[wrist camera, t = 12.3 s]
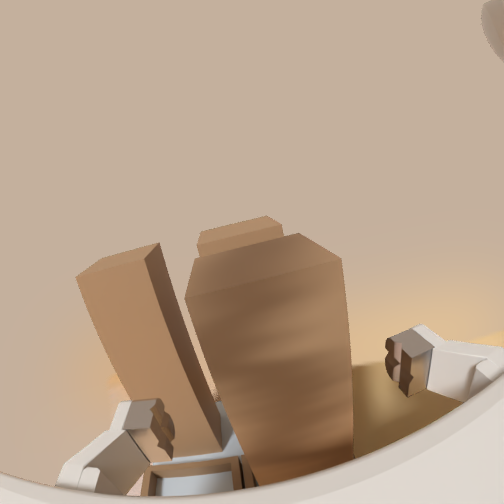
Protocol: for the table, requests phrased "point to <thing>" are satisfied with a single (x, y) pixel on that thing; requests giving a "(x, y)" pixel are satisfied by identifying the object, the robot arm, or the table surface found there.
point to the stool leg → (278, 352)
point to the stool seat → (170, 360)
